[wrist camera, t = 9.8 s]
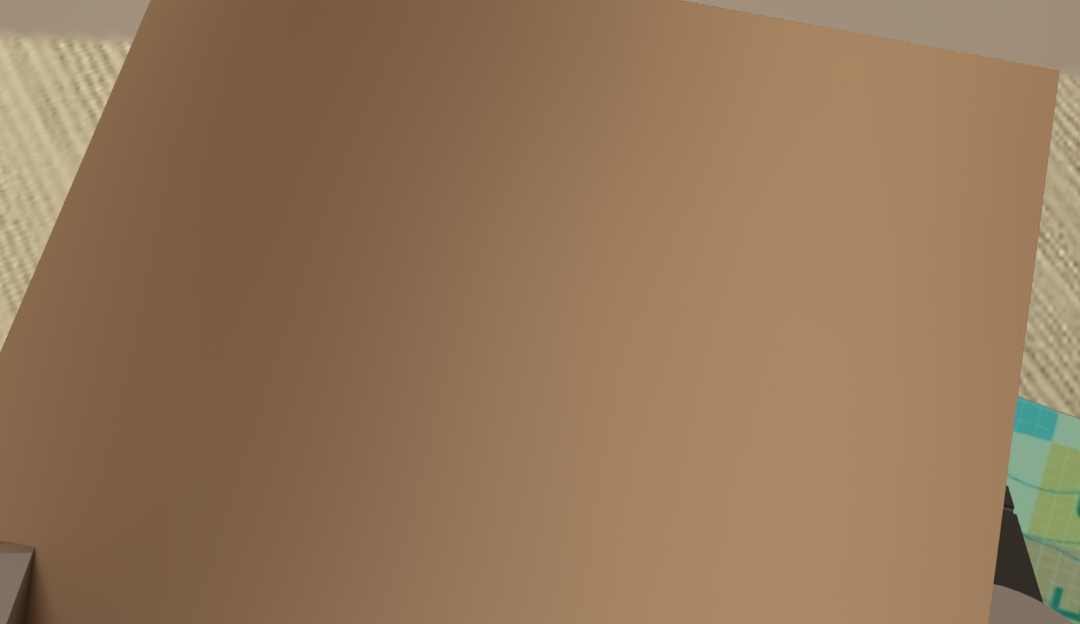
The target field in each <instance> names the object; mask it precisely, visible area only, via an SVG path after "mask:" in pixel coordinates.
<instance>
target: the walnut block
mask: <svg viewBox="0 0 1080 624" xmlns="http://www.w3.org/2000/svg"><path fill="white" fill-rule="evenodd" d="M1058 79H1059V70H1054V69H1048V68H1043V67H1037V66H1032V65H1027V64H1021V63H1016V62H1010V61H1005V60H1000V59H994V58H989V57H983V56H978V55H973V54H967V53H962V52H957V51H950V50H946V49H940V48H934V47H930V46H924V45H918V44H913V43H908V42H903V41H897V40H892V39H886V38H881V37H876V36H870V35H865V34H859V33H854V32H848V31H843V30H838V29H832V28H827V27H822V26H816V25H811V24H805V23H800V22H795V21H789V20H784V19H778V18H773V17H768V16H763V15H757V14H752V13H746V12H741V11H736V10H730V9H725V8H719V7H714V6H709V5H703V4H698V3H692V2H687V1H682V0H151V1H150V3H149V6H148V8H147V10H146V13H145V15H144V18H143V20H142V22H141V24H140V27H139V29H138V31H137V34H136V36H135V38H134V41H133V43H132V45H131V48H130V50H129V52H128V55H127V57H126V59H125V62H124V64H123V66H122V69H121V71H120V73H119V76H118V78H117V81H116V83H115V85H114V88H113V90H112V92H111V95H110V97H109V99H108V102H107V104H106V106H105V109H104V111H103V113H102V116H101V118H100V120H99V123H98V125H97V127H96V130H95V132H94V134H93V137H92V139H91V141H90V144H89V146H88V148H87V151H86V153H85V155H84V158H83V160H82V162H81V165H80V167H79V169H78V172H77V174H76V176H75V179H74V181H73V183H72V186H71V188H70V190H69V193H68V195H67V198H66V200H65V202H64V205H63V207H62V209H61V212H60V214H59V216H58V219H57V221H56V223H55V226H54V228H53V230H52V233H51V235H50V237H49V240H48V242H47V244H46V247H45V249H44V251H43V254H42V256H41V258H40V261H39V263H38V265H37V268H36V270H35V272H34V275H33V277H32V279H31V282H30V284H29V286H28V289H27V291H26V293H25V296H24V298H23V300H22V303H21V305H20V307H19V310H18V312H17V314H16V317H15V319H14V322H13V324H12V326H11V329H10V331H9V333H8V336H7V338H6V340H5V343H4V345H3V347H2V350H1V352H0V541H5V542H12V543H18V544H22V545H27V546H31V547H35V548H34V557H33V565H32V574H31V583H30V592H29V601H28V609H27V618H26V624H988V622H989V614H990V606H991V599H992V591H993V583H994V575H995V568H996V560H997V552H998V544H999V537H1000V529H1001V521H1002V513H1003V506H1004V498H1005V490H1006V482H1007V475H1008V467H1009V459H1010V451H1011V443H1012V436H1013V428H1014V420H1015V412H1016V405H1017V397H1018V389H1019V381H1020V374H1021V366H1022V358H1023V350H1024V343H1025V335H1026V327H1027V319H1028V312H1029V304H1030V296H1031V288H1032V281H1033V273H1034V265H1035V257H1036V250H1037V242H1038V234H1039V226H1040V219H1041V211H1042V203H1043V195H1044V187H1045V180H1046V172H1047V164H1048V156H1049V149H1050V141H1051V133H1052V125H1053V118H1054V110H1055V102H1056V94H1057V87H1058Z"/></svg>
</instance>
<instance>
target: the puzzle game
mask: <svg viewBox="0 0 1080 624" xmlns="http://www.w3.org/2000/svg"><path fill="white" fill-rule="evenodd" d="M1006 485H1007V486H1008V487H1009V490H1010V494H1011V497H1012V500H1013V504H1014V510H1013V513H1014V514H1017V517H1018V520H1019V524H1020V527H1021V530H1022V534H1023V537H1024V540H1025V544H1026V547H1027V550H1028V553H1029V557H1030V560H1031V563H1032V567H1033V570H1034V573H1035V577H1036V580H1037V583H1038V587H1039V590H1040V593H1041V597H1042V600H1043V603H1044V604H1045V605H1047V606H1049V607H1050V608H1052V609H1053V610H1055V611H1056V612H1058V613H1059V614H1061V615H1062V616H1064V617H1065V618H1066V619H1068V620H1069V621H1070V622H1071V623H1073V624H1080V419H1079V418H1076V417H1073V416H1071V415H1068V414H1065V413H1062V412H1059V411H1057V410H1054V409H1051V408H1048V407H1046V406H1043V405H1040V404H1037V403H1035V402H1032V401H1029V400H1026V399H1024V398H1021V397H1017V405H1016V412H1015V420H1014V428H1013V436H1012V443H1011V451H1010V459H1009V467H1008V475H1007V482H1006Z"/></svg>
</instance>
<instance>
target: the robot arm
mask: <svg viewBox="0 0 1080 624" xmlns="http://www.w3.org/2000/svg"><path fill="white" fill-rule="evenodd" d="M1013 510H1014V504H1013V500H1012V497H1011V494H1010V490H1009V487H1008V486H1007V485H1006V490H1005V498H1004V506H1003V513H1002V521H1001V529H1000V537H999V544H998V552H997V560H996V568H995V575H994V583H993V591H992V599H991V606H990V614H989V622H988V624H1073V623H1071V622H1070V621H1069V620H1068V619H1066V618H1065V617H1064V616H1062V615H1061V614H1059V613H1058V612H1056V611H1055V610H1053V609H1052V608H1050V607H1049V606H1047V605H1045V604H1044V603H1043V600H1042V597H1041V593H1040V590H1039V587H1038V583H1037V580H1036V577H1035V573H1034V570H1033V567H1032V563H1031V560H1030V557H1029V553H1028V550H1027V547H1026V544H1025V540H1024V537H1023V534H1022V530H1021V527H1020V524H1019V520H1018V517H1017V514H1014V513H1013ZM34 548H35V547H31V546H27V545H22V544H18V543H12V542H5V541H0V624H26V618H27V609H28V601H29V592H30V583H31V574H32V565H33V557H34Z"/></svg>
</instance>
